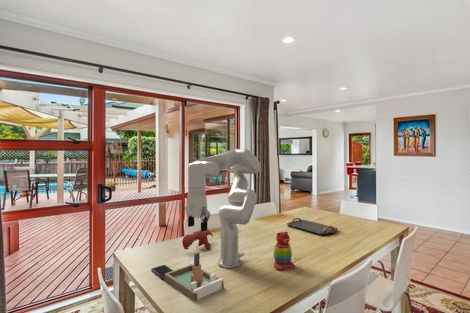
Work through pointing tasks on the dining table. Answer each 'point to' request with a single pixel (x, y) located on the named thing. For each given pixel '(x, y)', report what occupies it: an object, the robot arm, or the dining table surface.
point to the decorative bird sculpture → (197, 235)
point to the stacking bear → (283, 252)
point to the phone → (161, 271)
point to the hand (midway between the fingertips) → (197, 228)
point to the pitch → (193, 290)
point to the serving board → (312, 226)
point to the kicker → (196, 270)
